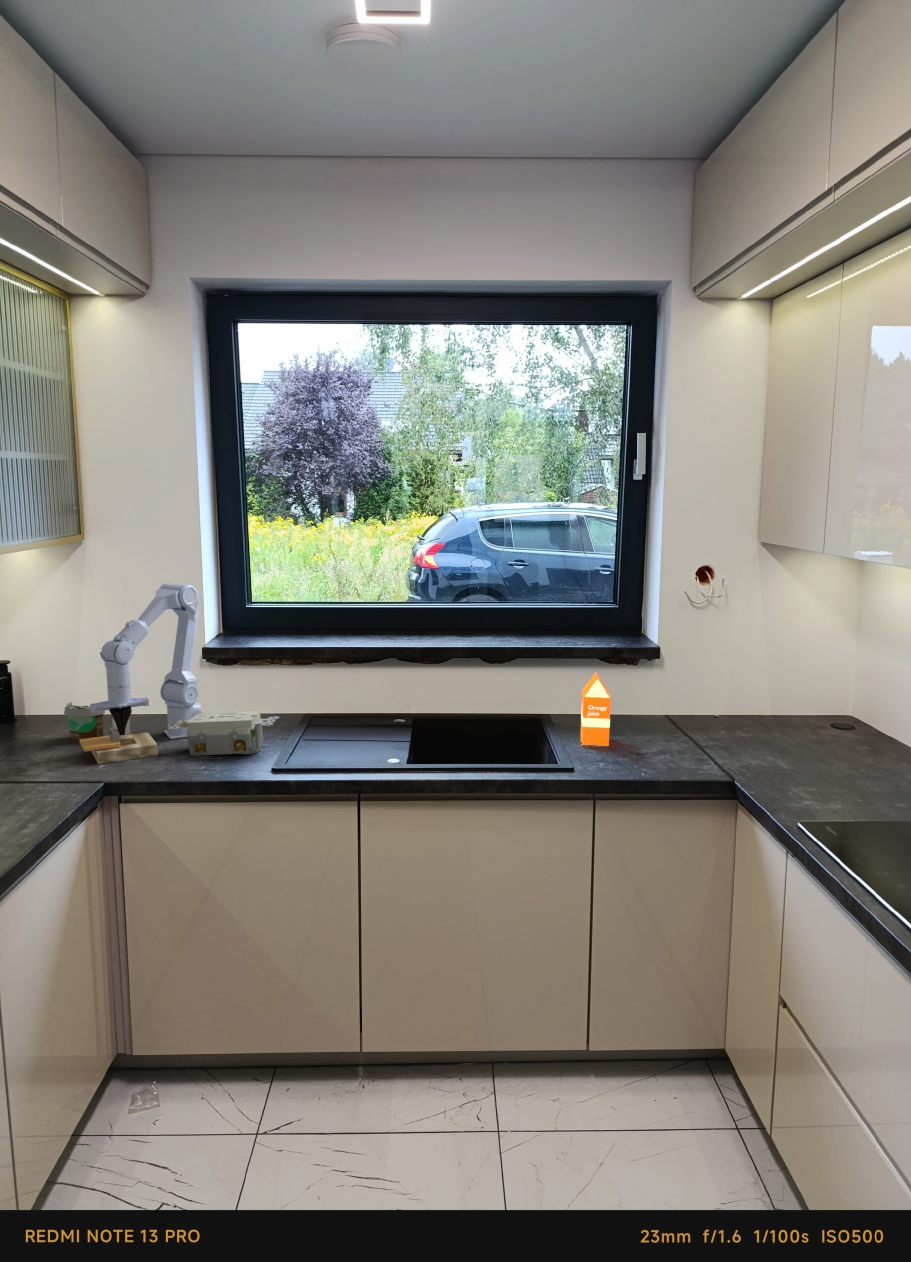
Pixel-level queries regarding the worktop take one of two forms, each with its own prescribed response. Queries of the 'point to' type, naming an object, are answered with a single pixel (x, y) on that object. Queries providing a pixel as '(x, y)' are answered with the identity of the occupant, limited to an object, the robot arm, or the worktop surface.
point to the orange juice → (595, 713)
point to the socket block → (128, 749)
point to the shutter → (102, 741)
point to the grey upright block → (127, 730)
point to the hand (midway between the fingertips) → (121, 734)
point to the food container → (83, 722)
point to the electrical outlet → (225, 733)
